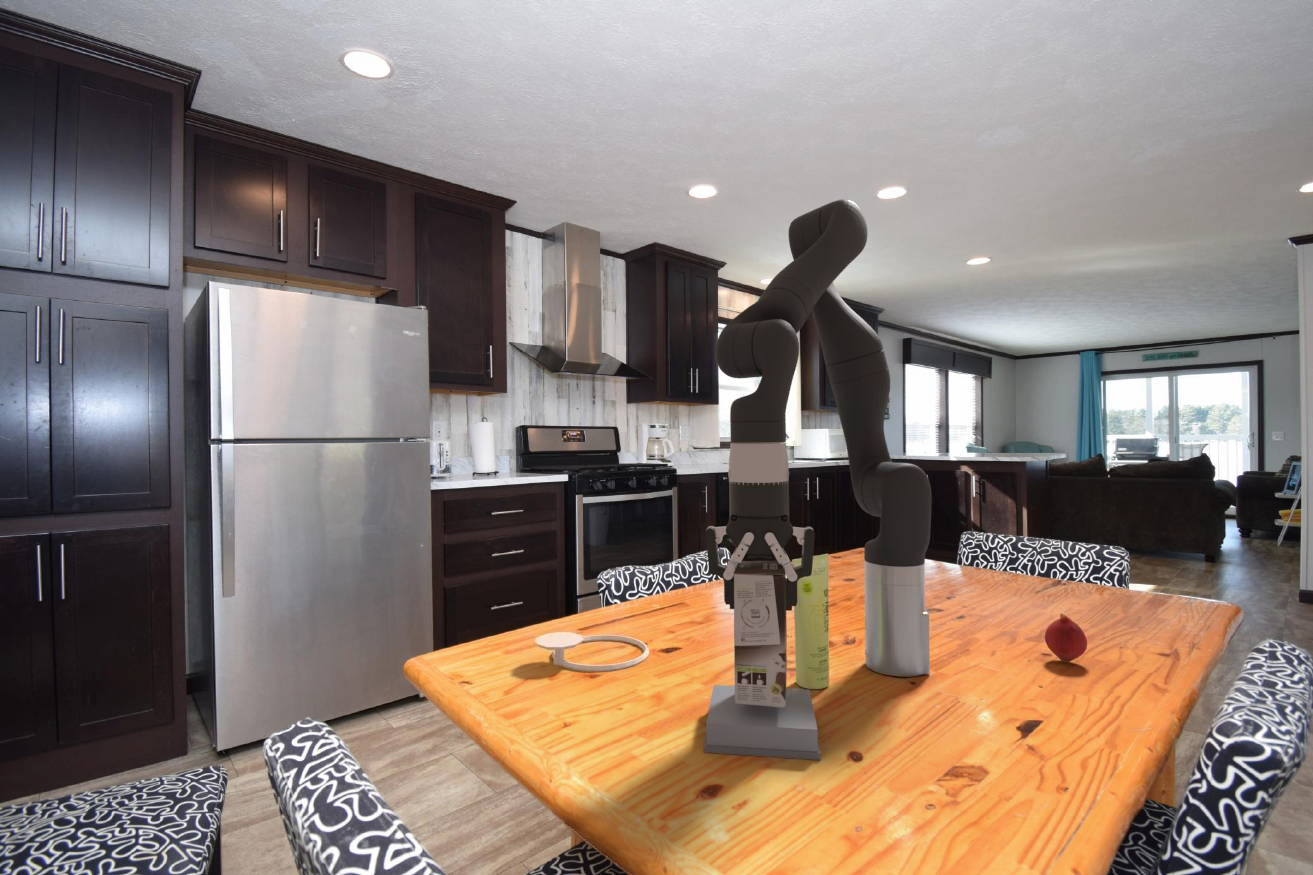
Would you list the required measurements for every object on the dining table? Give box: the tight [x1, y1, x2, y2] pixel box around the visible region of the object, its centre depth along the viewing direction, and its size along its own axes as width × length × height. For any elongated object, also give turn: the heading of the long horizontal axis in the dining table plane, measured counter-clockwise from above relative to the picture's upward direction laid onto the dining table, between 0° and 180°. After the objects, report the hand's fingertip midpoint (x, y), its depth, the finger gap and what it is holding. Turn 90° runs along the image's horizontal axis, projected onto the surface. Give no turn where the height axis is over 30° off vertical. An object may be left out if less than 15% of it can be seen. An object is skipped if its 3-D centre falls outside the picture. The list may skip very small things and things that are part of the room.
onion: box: [1044, 612, 1088, 663], centre depth 106 cm, size 6×6×8 cm
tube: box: [791, 553, 830, 690], centre depth 97 cm, size 6×5×20 cm
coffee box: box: [733, 560, 788, 708], centre depth 82 cm, size 9×6×16 cm
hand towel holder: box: [534, 631, 650, 673], centre depth 111 cm, size 17×4×21 cm
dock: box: [703, 684, 822, 761], centre depth 82 cm, size 14×13×3 cm
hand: (760, 608), depth 82 cm, fingers closed on coffee box, 6 cm apart
